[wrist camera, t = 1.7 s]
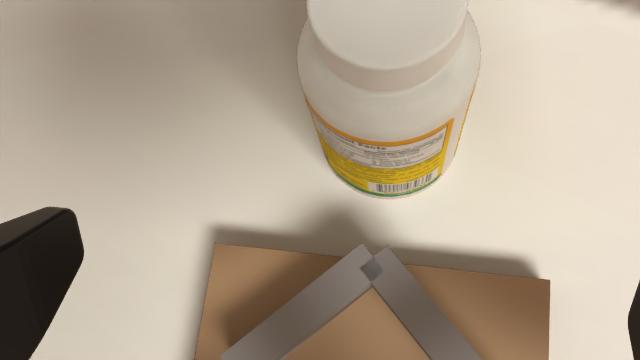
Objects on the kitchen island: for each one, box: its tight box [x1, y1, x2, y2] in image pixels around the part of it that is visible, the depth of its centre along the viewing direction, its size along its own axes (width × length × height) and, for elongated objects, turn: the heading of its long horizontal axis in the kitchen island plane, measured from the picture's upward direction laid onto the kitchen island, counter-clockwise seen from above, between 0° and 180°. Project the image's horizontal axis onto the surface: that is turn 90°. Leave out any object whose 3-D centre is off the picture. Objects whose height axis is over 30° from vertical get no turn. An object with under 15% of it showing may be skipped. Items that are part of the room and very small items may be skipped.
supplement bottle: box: [297, 0, 481, 199], centre depth 19 cm, size 5×5×10 cm
